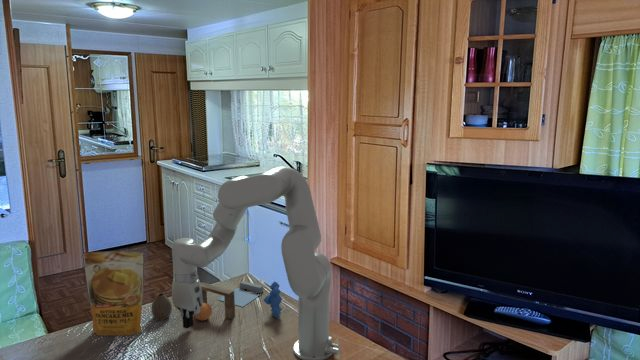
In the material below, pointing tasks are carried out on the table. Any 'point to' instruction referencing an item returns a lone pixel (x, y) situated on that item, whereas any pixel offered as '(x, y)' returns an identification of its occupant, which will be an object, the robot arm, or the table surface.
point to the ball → (204, 312)
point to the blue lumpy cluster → (274, 299)
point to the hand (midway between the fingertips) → (188, 326)
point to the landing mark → (241, 297)
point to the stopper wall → (251, 286)
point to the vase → (161, 307)
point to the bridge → (221, 291)
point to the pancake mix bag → (115, 291)
